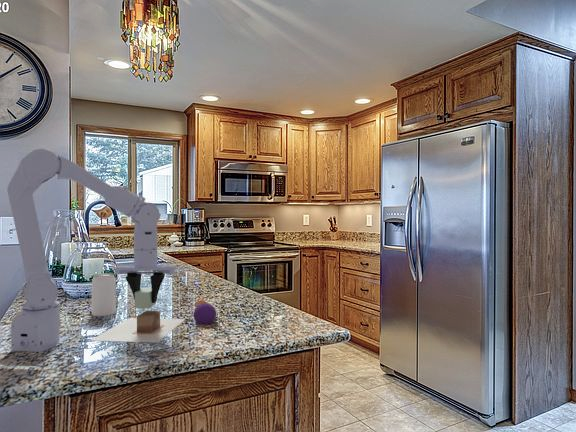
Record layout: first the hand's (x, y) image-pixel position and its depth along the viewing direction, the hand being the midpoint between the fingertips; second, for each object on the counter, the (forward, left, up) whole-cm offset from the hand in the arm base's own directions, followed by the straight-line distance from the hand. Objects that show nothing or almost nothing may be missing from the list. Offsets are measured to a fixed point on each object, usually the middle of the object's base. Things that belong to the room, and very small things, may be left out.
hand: (145, 302), depth 104 cm
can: (+14, +19, -8) cm, 24 cm away
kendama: (+13, -11, -8) cm, 19 cm away
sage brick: (0, 0, -1) cm, 1 cm away
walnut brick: (-1, -1, -7) cm, 7 cm away
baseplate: (-1, +1, -7) cm, 7 cm away
